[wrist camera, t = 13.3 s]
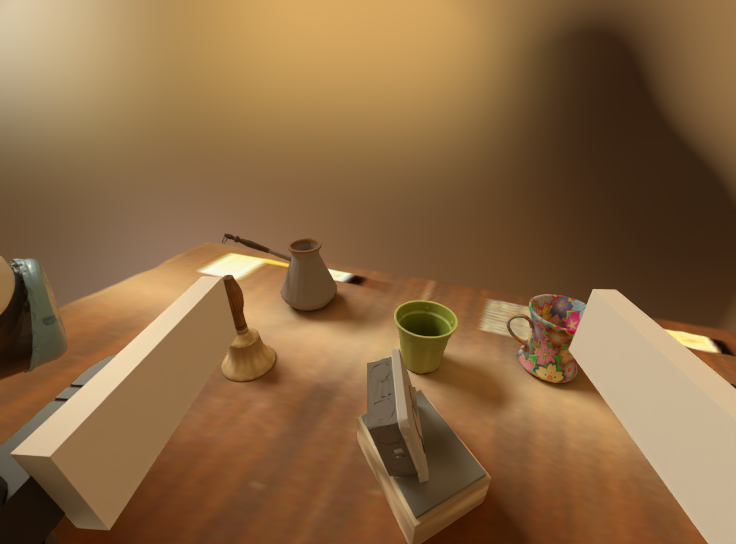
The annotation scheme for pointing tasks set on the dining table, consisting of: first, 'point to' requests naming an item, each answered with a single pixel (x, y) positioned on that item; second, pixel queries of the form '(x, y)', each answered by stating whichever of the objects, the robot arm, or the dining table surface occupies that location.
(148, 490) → the dining table surface
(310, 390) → the dining table surface
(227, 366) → the hand bell
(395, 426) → the electrical switch
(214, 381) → the dining table surface
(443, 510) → the birch stand
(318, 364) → the dining table surface
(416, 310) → the plant pot
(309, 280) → the coffee pot
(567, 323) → the mug
